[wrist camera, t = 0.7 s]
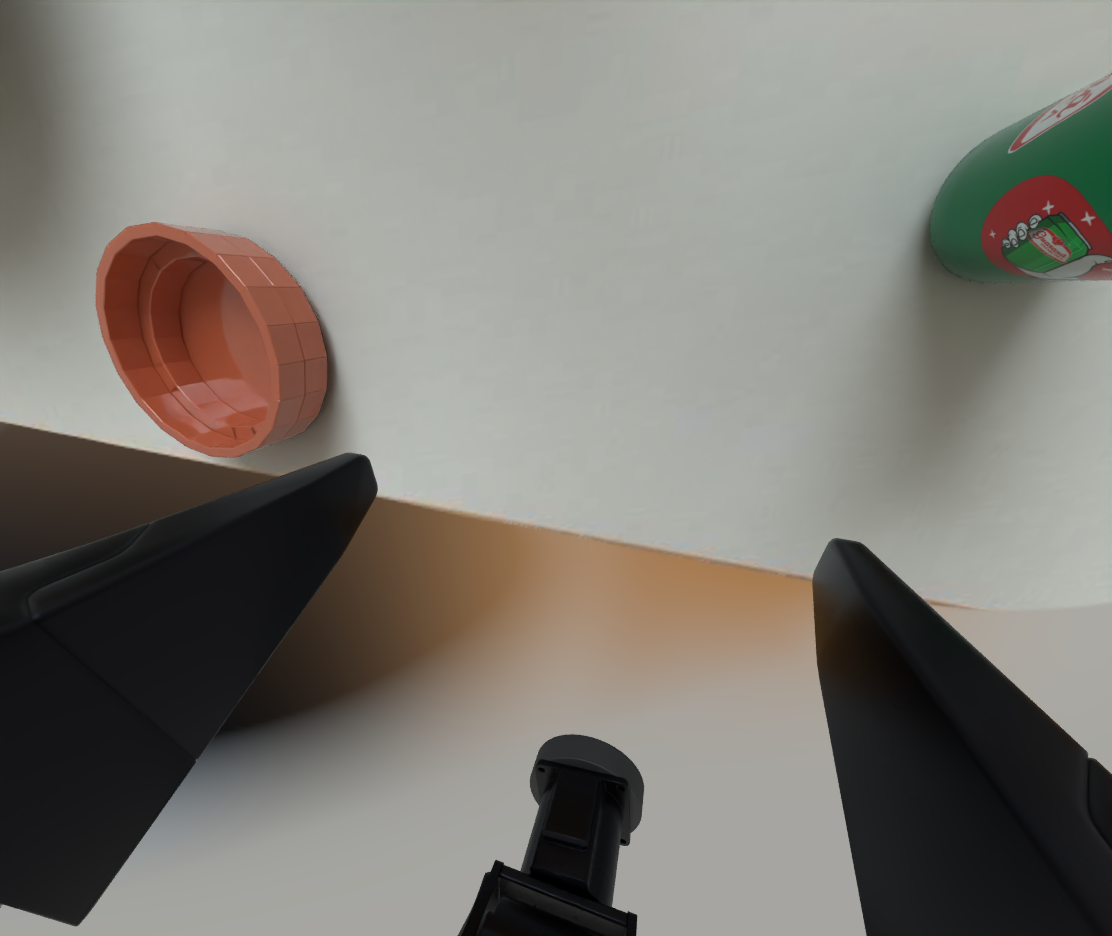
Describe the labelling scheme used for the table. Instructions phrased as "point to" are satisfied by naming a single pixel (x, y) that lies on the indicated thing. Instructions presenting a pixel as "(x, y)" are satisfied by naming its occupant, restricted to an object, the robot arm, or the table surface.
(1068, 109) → the soda can
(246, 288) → the dish
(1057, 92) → the table surface
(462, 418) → the table surface
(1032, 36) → the table surface
